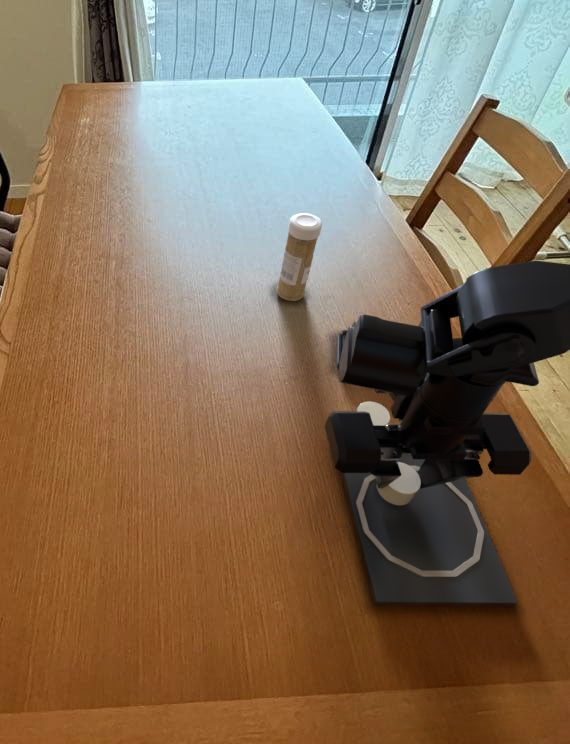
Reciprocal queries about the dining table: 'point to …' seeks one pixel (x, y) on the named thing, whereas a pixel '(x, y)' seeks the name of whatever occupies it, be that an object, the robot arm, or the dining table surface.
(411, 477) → the white round puck
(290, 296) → the sprinkles bottle
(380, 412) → the cream round box
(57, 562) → the dining table surface
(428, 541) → the slate
